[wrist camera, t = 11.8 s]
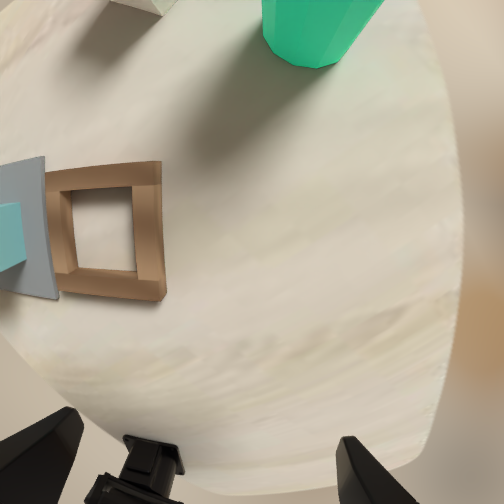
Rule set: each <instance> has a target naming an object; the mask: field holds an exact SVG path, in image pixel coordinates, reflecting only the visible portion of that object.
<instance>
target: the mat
mask: <svg viewBox="0 0 504 504" xmlns="http://www.w3.org/2000/svg"><path fill="white" fill-rule="evenodd" d="M17 202H20V207H21V218H22V228H23V236H24V244H25V251H26V257H27V259H26V260H24V261H22V262H20V263H18V264H16V265H14V266H12V267H10V268H8V269H6V270H4V271H2V272H0V289H1V290H6V291H11V292H16V293H22V294H27V295H33V296H38V297H44V298H50V299H58V298H59V293H58V289H57V284H56V278H55V273H54V267H53V261H52V255H51V248H50V240H49V232H48V222H47V211H46V196H45V156H40V157H35V158H31V159H26V160H22V161H18V162H13V163H9V164H5V165H2V166H0V204H7V203H17Z"/></svg>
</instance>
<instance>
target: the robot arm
mask: <svg viewBox="0 0 504 504" xmlns="http://www.w3.org/2000/svg"><path fill="white" fill-rule="evenodd" d="M83 430H84V423H83V421H82V419H81V417H80V415H79V413H78V411H77V410H76V409H75V408H72V407H68V406H66V407H64V408H62V409H60V410H58V411H57V412H55V413H53V414H51V415H49V416H47V417H46V418H44V419H42V420H40V421H38V422H36V423H35V424H33V425H31V426H29V427H27V428H25V429H23V430H21V431H19V432H17V433H16V434H14V435H12V436H10V437H8V438H6V439H4V440H2V441H0V504H58V501H59V498H60V495H61V493H62V490H63V488H64V485H65V483H66V480H67V478H68V475H69V473H70V470H71V467H72V465H73V462H74V460H75V457H76V454H77V450H78V447H79V443H80V440H81V437H82V433H83ZM123 441H124V443H125V445H126V447H127V449H128V452H129V454H128V457H127V459H126V461H125V464H124V466H123V468H122V471H121V473H120V475H119V478H116V477H114V476H112V475H110V474H109V473H107V472H105V474H104V475H98V477H97V479H96V481H95V484H94V485H93V487H92V489H91V490H90V492H89V493H88V495H87V496H86V498H85V500H84V503H85V504H184V503H182V502H180V501H179V502H177V501H174V500H171V499H169V495H170V492H171V488H172V484H173V480H174V477H175V474H177V475H184V474H185V470H184V467H183V463H182V460H181V456H180V453H179V449H178V447H177V446H176V445H172V444H167V443H161V442H156V441H151V440H147V439H142V438H138V437H133V436H129V435H124V436H123ZM336 466H337V481H338V495H339V501H340V504H419V503H418V502H416V500H415V499H414V498H413V497H412V496H411V495H410V494H409V493H408V492H407V491H406V490H405V489H404V488H403V487H402V486H401V485H400V484H399V483H398V482H397V481H396V479H394V477H393V476H392V475H391V474H390V473H389V472H388V471H387V470H386V469H385V468H384V467H383V466H382V465H381V464H380V463H379V462H378V461H377V460H376V459H375V457H374V456H373V455H372V454H371V453H370V452H369V451H368V450H367V449H366V448H365V447H364V446H363V445H362V443H361V442H360V441H359V440H358V439H357V438H356V437H355V436H344V437H342V438H341V439H340V442H339V445H338V448H337V450H336ZM107 491H108V492H107Z"/></svg>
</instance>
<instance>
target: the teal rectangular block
mask: <svg viewBox="0 0 504 504" xmlns="http://www.w3.org/2000/svg"><path fill="white" fill-rule="evenodd" d="M26 259H27V257H26V251H25V244H24V236H23V228H22V218H21V207H20V202H17V203H7V204H0V272H2V271H4V270H6V269H8V268H10V267H12V266H14V265H16V264H18V263H20V262H22V261H24V260H26Z"/></svg>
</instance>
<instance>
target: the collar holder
mask: <svg viewBox="0 0 504 504" xmlns="http://www.w3.org/2000/svg"><path fill="white" fill-rule="evenodd" d="M125 186H132V207H133V226H134V241H135V254H136V264H137V272H136V271H120V270H105V269H91V268H78V262H77V255H76V247H75V238H74V228H73V217H72V203H71V190H79V189H92V188H107V187H125ZM45 194H46V209H47V221H48V231H49V239H50V247H51V254H52V260H53V267H54V272H55V278H56V283H57V288H58V290H59V291H67V292H74V293H82V294H90V295H99V296H108V297H118V298H127V299H138V300H149V301H161V300H162V299H163V297H164V296H165V295H166V293H167V287H166V275H165V261H164V245H163V224H162V183H161V161H147V162H132V163H120V164H109V165H99V166H90V167H82V168H74V169H66V170H59V171H52V172H46V173H45Z"/></svg>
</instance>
